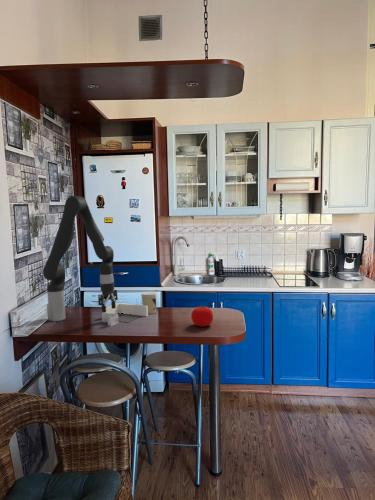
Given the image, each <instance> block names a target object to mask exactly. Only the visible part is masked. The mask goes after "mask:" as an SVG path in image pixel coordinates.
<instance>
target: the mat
mask: <svg viewBox="0 0 375 500" xmlns="http://www.w3.org/2000/svg"><path fill="white" fill-rule="evenodd" d="M138 318H140V316H139V315H130V314H124V315H123V316H120V317H119V323H127V324H128V323H130V322H133V321H135V320H138Z"/></svg>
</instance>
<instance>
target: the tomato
mask: <svg viewBox="0 0 375 500" xmlns="http://www.w3.org/2000/svg"><path fill="white" fill-rule="evenodd" d="M190 315H191V320H192V323H193V324H194V325H195V326H197V327H201V328H202V327H203V328H204V327H208V326H210V325H212V322H213V321H214V314H213V311H212V309H211V308H209V307H208V306H203V305H202V306H197V307H195V308H194V309H193V310H192V311H191V314H190Z"/></svg>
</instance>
